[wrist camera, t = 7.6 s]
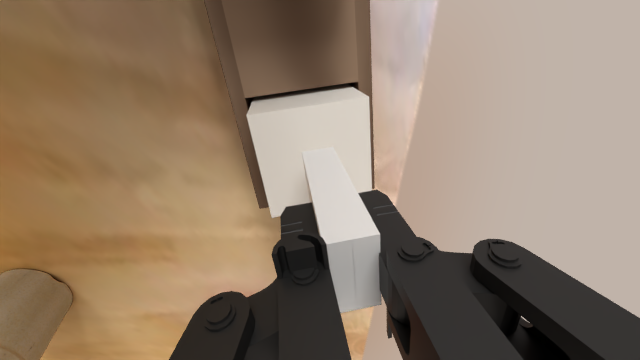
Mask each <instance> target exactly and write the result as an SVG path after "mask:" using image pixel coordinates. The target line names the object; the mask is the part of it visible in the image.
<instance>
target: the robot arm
mask: <svg viewBox="0 0 640 360" xmlns="http://www.w3.org/2000/svg"><path fill="white" fill-rule="evenodd" d="M302 157H303V163H304V170H305V176H306V182H307V188H308V195H309V201H310V203H305V204H299V205H294V206H288V207H285V209H284V211H283V212H282V214H281V240H279V241H278V243H277V244H276V245H275V246H274V248H273V251H272V258H273V262H274V265H275V269H276V273H277V278H276V279H275V281H274V282H273V283H272V284H270V285H269V286H268V287H267V288H265V289H263V290H262V291H260V292H258V293H256V294H254V295H252V296H249V297H245V296H244V295H243V294H241V293H239V292H233V291H230V292H223V293H220V294H218V295H215V296H213V297H211V298H210V299H208V300H207V301H206V302H205V303H203V304H202V305H201V306H200V307H199V308H198V310H197V311H196V312H195V314H194V315H193V317H192V319H191V320H190V322H189V324H188V326H187V328H186V330H185V331H184V333H183V335H182V337H181V339H180V340H179V342H178V344H177V346H176V348H175V350H174V351H173V353H172V355H171V357H170V359H169V360H351V356H350V352H349V348H348V343H347V339H346V335H345V331H344V327H343V322H342V318H341V314H340V313H343V312H348V311H353V310H358V309H362V308H367V307H372V306H376V305H381V294H382V296H383V298H384V301H385V303H386V306H387V335H388V338H391V337H392V333H393V336H394V338H395V341H396V343H397V346H398V348H399V351H400V353H401V356H402V358H403V360H640V318H638V317H637V316H635V315H634V314H632V313H630V312H629V311H627V310H625V309H624V308H622V307H620V306H619V305H617V304H615V303H613V302H612V301H611V300H609V299H607V298H606V297H604V296H602V295H601V294H599V293H597V292H596V291H594V290H592V289H591V288H589V287H587V286H586V285H584V284H582V283H581V282H579V281H578V280H576V279H574V278H572V277H571V276H569V275H568V274H566V273H564V272H563V271H561V270H559V269H558V268H556V267H555V266H553V265H551V264H550V263H548V262H546V261H545V260H543V259H541V258H540V257H538V256H536V255H535V254H533V253H531V252H530V251H528V250H526V249H525V248H523V247H521V246H519V245H517V244H515V243H513V242H509V241H505V240H500V239H487V240H483V241H480V242H478V243H477V244H476V245H475V246H474V249H473V254H472V253H453V252H444V251H439V250H438V249H437V247H435V246H434V245H433V244H432V243H431V242H429V241H427V240H425V239H423V238H420V237H416V235H415V234H414V233H413V231H412V230H411V228H410V227H409V226H408V224H407V223H406V221H405V220H404V219H403V218H402V216H401V215H400V213H399V212H398V211H397V209H396V207H395V206H394V205H393V203H392V202H391V201H390V199H389V198H388V196H387V195H385V194H383V193H382V192H380V191H378V190H373V191H367V192H362V193H358V192H357V190H356V188H355V187H354V185H353V183H352V181H351V179H350V177H349V175H348V174H347V172H346V170H345V168H344V166H343V164H342V162H341V161H340V159H339V157H338V155H337V153H336V151H335V149H334V148H333V147H329V148H323V149H317V150H311V151H304V152H302ZM521 316H522V317H524V318H525V319H526V320H527V321H529V322H530V323H529V322H527V321H525V320H524V319H522V318H521Z"/></svg>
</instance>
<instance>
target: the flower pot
mask: <svg viewBox="0 0 640 360" xmlns="http://www.w3.org/2000/svg"><path fill="white" fill-rule="evenodd" d="M72 300H73V297H72V293H71V291H70V289H69V287H68V286H67V285H66V284H65V283H62V282H58V281H56V280H55V279H53V278H52V277H51V276H50V274H48V273H45V272H41V271H37V270H30V269H16V270H9V271H6V272H3V273H1V274H0V360H40V358H41V357H42V355H43V353H44V351H45V349H46V348H47V346H48V344H49V342H50V341H51V339H52V337H53V335H54V334H55V332H56V330H57V328H58V327H59V325H60V323H61V321H62V319H63V318H64V316H65V314H66V312H67V311H68V309H69V307H70V306H71V303H72Z"/></svg>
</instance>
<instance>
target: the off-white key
mask: <svg viewBox="0 0 640 360" xmlns="http://www.w3.org/2000/svg"><path fill="white" fill-rule="evenodd" d="M246 116H247V120H248V124H249V128H250V132H251V136H252V140H253V144H254V148H255V152H256V156H257V160H258V164H259V168H260V172H261V176H262V180H263V184H264V188H265V193H266V197H267V201H268V205H269V209H270V213H271V217H272V218H274V217H279V216H281V214H282V212H283V211H284V209H285V207H288V206H294V205H299V204H305V203H310V201H309V195H308V188H307V182H306V176H305V170H304V163H303V157H302V152H304V151H311V150H317V149H323V148H329V147H333V148H334V149H335V151H336V153H337V155H338V157H339V159H340V161H341V162H342V164H343V166H344V168H345V170H346V172H347V174H348V175H349V177H350V179H351V181H352V183H353V185H354V187H355V188H356V190H357V192H358V193H362V192H367V191H372V174H371V142H370V110H369V96H367V95H365V94H364V93H362V92H360V91H359V90H357V89H355V88H354V87H352V86H350V85H349V84H347V83H345V84H338V85H331V86H324V87H317V88H311V89H304V90H297V91H290V92H283V93H277V94H270V95H263V96H256V97H254V98H253V100H252V103H251V105H250V108H249V110H248V113H247V115H246Z"/></svg>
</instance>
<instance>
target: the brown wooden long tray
mask: <svg viewBox="0 0 640 360" xmlns="http://www.w3.org/2000/svg"><path fill="white" fill-rule="evenodd" d="M204 2H205V6H206V9H207V13H208V17H209V21H210V24H211V28H212V32H213V36H214V39H215V43H216V47H217V51H218V54H219V58H220V62H221V66H222V69H223V73H224V77H225V81H226V84H227V88H228V92H229V95H230V99H231V103H232V107H233V110H234V114H235V118H236V122H237V125H238V129H239V133H240V137H241V140H242V144H243V148H244V152H245V155H246V159H247V163H248V167H249V170H250V174H251V178H252V182H253V185H254V189H255V193H256V197H257V200H258V204H259V208H260V209H261V208H266V207H269V205H268V201H267V197H266V193H265V188H264V184H263V180H262V176H261V172H260V168H259V164H258V160H257V156H256V152H255V148H254V144H253V140H252V136H251V132H250V128H249V124H248V120H247V116H246V115H247V113H248V110H249V108H250V105H251V103H252V100H253V98H254V97H256V96H263V95H270V94H277V93H283V92H290V91H297V90H304V89H311V88H317V87H324V86H331V85H338V84H345V83H347V84H349V85H350V86H352V87H354V88H355V89H357V90H359V91H360V92H362V93H364V94H365V95H367V96H369V110H370V142H371V174H372V189H374V150H373V111H372V72H371V34H370V0H204Z"/></svg>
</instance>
